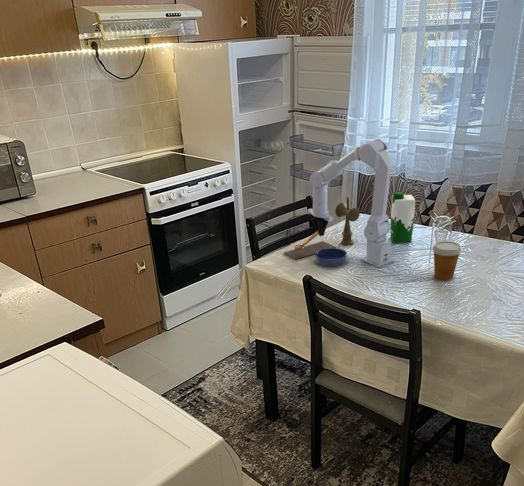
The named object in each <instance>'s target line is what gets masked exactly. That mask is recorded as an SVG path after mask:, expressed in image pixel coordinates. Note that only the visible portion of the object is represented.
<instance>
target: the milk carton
mask: <svg viewBox="0 0 524 486" xmlns="http://www.w3.org/2000/svg"><path fill="white" fill-rule="evenodd" d="M415 211H416V199H415V197H414V196H413V194H405V192H404V191H401V190H400V191H399V190H398V191H394V192H393V195H392V196H391V211H390V230H389V232H390V239H391V241H392V243H393V244H404V243H412V238H413V232H414V222H415Z"/></svg>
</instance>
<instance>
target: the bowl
mask: <svg viewBox="0 0 524 486" xmlns="http://www.w3.org/2000/svg"><path fill="white" fill-rule="evenodd" d="M314 256H315V257H314V258H315V259H314V260H315V264H317V265H318V266H320V267H324V268H337V267H341V266H344V265H345V264H347V262H348V252H347V251H346V250H345V249H342V248H339V247H336V248H326V249H321V250H319V251H317V252H316V253H315V255H314Z"/></svg>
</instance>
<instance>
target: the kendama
mask: <svg viewBox="0 0 524 486" xmlns="http://www.w3.org/2000/svg"><path fill="white" fill-rule="evenodd" d="M334 211H335V212H334V213H335V215H336V217H338V218H343V217H345V221H344V227H343V231H342V232H341V235H342V239H341V241H340V244H341V245H342V246H350V245H351V246H352V245H353V244H354V241H353V239H352V235H353V234H354V233H353V232H352V230H351V223H352V222H353V223H354V222H356V221H358V219H359V218H360V216H361V215H360V214H361V212H360V209H359V207H352V208H350V197H349V196H347V197H346V202H339V203H337V205H336V206H335V210H334ZM350 222H351V223H350Z"/></svg>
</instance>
